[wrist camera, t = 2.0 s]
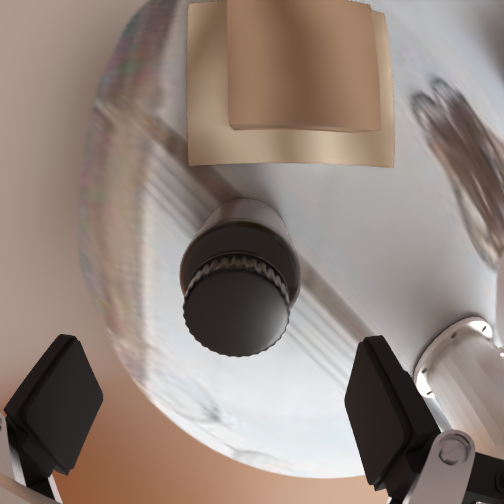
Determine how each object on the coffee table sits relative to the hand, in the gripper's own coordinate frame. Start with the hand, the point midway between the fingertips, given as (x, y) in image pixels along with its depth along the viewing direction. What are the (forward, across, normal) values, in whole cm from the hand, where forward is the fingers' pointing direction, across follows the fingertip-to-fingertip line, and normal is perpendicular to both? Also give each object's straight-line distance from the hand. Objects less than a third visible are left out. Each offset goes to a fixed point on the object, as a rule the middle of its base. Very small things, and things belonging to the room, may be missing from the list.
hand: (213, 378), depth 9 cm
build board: (+16, -5, -12) cm, 21 cm away
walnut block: (+15, -5, -12) cm, 20 cm away
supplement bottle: (+16, -1, 0) cm, 16 cm away
